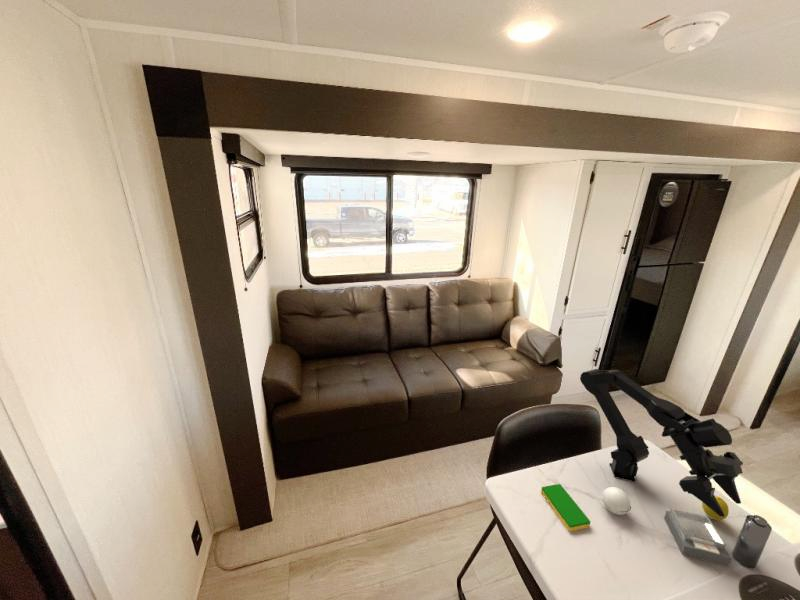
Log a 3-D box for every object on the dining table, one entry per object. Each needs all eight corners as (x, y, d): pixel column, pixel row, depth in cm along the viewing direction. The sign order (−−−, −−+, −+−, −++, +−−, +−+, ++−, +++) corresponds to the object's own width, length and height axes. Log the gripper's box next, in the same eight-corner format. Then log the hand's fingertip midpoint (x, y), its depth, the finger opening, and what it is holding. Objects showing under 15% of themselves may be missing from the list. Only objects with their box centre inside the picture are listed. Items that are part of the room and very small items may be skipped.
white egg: (613, 523, 94) (618, 504, 92) (594, 501, 101) (598, 483, 99) (641, 517, 96) (646, 498, 94) (620, 496, 103) (625, 478, 101)
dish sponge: (559, 489, 106) (560, 483, 106) (590, 528, 93) (591, 522, 93) (540, 492, 105) (541, 486, 104) (568, 532, 92) (570, 526, 91)
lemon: (729, 528, 93) (737, 507, 91) (707, 524, 94) (714, 503, 92) (715, 511, 98) (722, 491, 96) (694, 508, 99) (701, 488, 97)
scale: (682, 554, 86) (686, 541, 85) (664, 518, 96) (667, 506, 95) (728, 567, 83) (733, 553, 81) (704, 528, 93) (709, 515, 92)
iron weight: (738, 565, 83) (755, 524, 79) (728, 549, 87) (743, 509, 83) (760, 571, 82) (778, 529, 78) (748, 554, 86) (765, 514, 82)
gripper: (704, 456, 82) (750, 525, 76) (738, 435, 90) (783, 497, 83) (662, 460, 91) (700, 522, 85) (697, 441, 99) (734, 497, 92)
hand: (730, 509), depth 86 cm, fingers open, 9 cm apart
